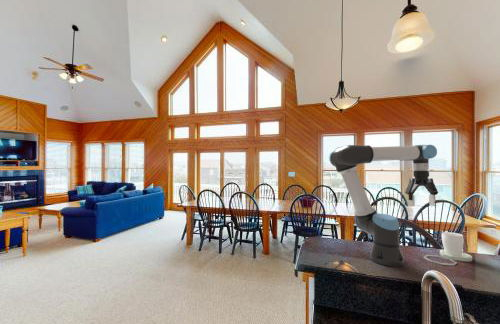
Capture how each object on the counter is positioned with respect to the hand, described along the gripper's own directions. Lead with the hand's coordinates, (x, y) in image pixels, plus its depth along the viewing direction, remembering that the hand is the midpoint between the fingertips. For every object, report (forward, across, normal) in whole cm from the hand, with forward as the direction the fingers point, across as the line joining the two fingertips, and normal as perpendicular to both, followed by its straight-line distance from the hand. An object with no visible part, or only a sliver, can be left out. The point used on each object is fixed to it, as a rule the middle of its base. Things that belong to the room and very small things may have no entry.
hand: (422, 205), depth 131 cm
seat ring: (+27, -5, -14) cm, 31 cm away
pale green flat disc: (+27, +9, -10) cm, 30 cm away
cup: (+26, +8, -10) cm, 29 cm away
